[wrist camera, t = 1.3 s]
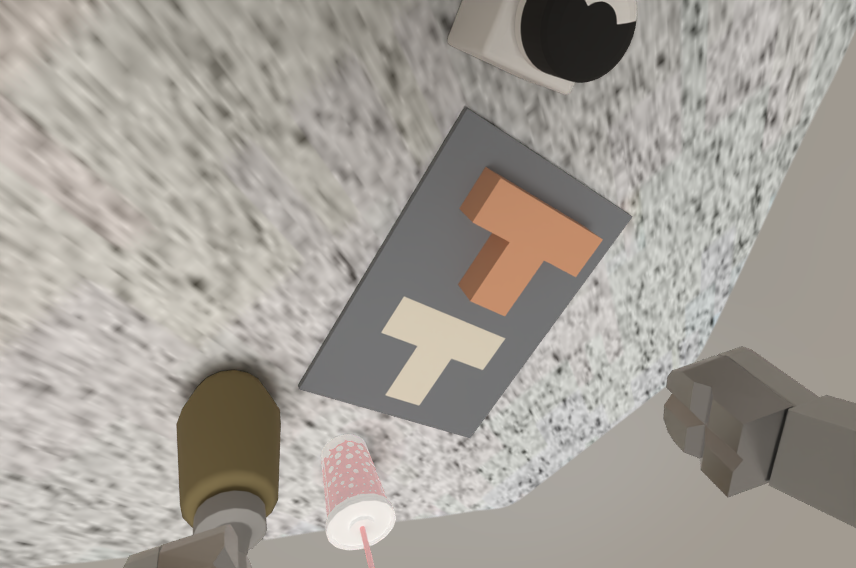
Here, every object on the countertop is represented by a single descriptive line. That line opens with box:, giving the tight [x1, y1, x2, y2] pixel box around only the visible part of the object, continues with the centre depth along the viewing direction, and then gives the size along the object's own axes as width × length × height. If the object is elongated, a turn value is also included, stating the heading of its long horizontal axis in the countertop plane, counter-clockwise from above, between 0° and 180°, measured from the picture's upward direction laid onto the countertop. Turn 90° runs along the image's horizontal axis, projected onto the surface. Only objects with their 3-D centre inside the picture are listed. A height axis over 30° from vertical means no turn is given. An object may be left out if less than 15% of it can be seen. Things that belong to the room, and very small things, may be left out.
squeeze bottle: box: [177, 370, 281, 554], centre depth 41 cm, size 8×8×18 cm
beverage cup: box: [321, 434, 396, 568], centre depth 50 cm, size 6×6×14 cm
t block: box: [458, 167, 603, 316], centre depth 48 cm, size 10×12×3 cm
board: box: [298, 107, 632, 438], centre depth 51 cm, size 28×20×1 cm
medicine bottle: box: [447, 0, 637, 94], centre depth 35 cm, size 7×7×12 cm
